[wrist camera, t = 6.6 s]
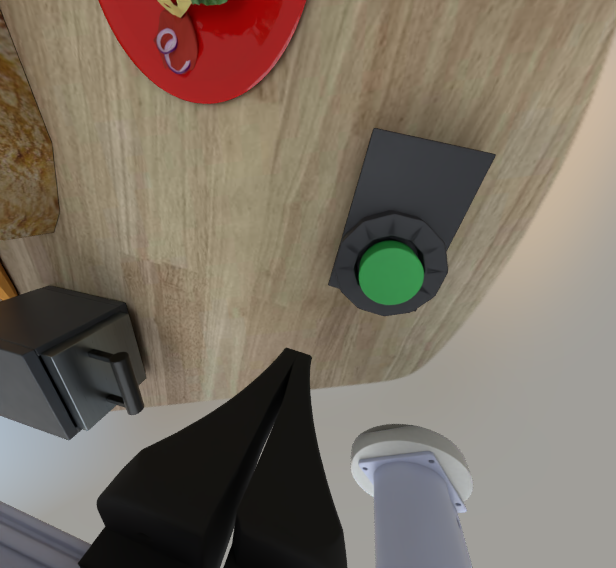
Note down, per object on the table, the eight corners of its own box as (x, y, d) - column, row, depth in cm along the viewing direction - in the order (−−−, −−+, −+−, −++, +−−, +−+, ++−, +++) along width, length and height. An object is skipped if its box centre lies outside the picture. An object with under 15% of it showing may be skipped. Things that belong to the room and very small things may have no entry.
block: (410, 302, 18) (420, 327, 15) (330, 278, 19) (323, 298, 16) (481, 157, 14) (517, 150, 10) (372, 133, 14) (374, 119, 11)
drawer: (160, 321, 24) (91, 369, 18) (174, 386, 28) (121, 443, 22) (57, 296, 26) (-36, 331, 20) (84, 360, 30) (12, 405, 24)
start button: (404, 298, 15) (408, 313, 13) (352, 283, 15) (351, 295, 14) (427, 249, 13) (436, 258, 12) (369, 233, 14) (370, 240, 12)
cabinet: (125, 302, 25) (21, 355, 18) (145, 373, 30) (69, 440, 22) (49, 285, 27) (-77, 326, 19) (78, 355, 31) (-14, 411, 24)
